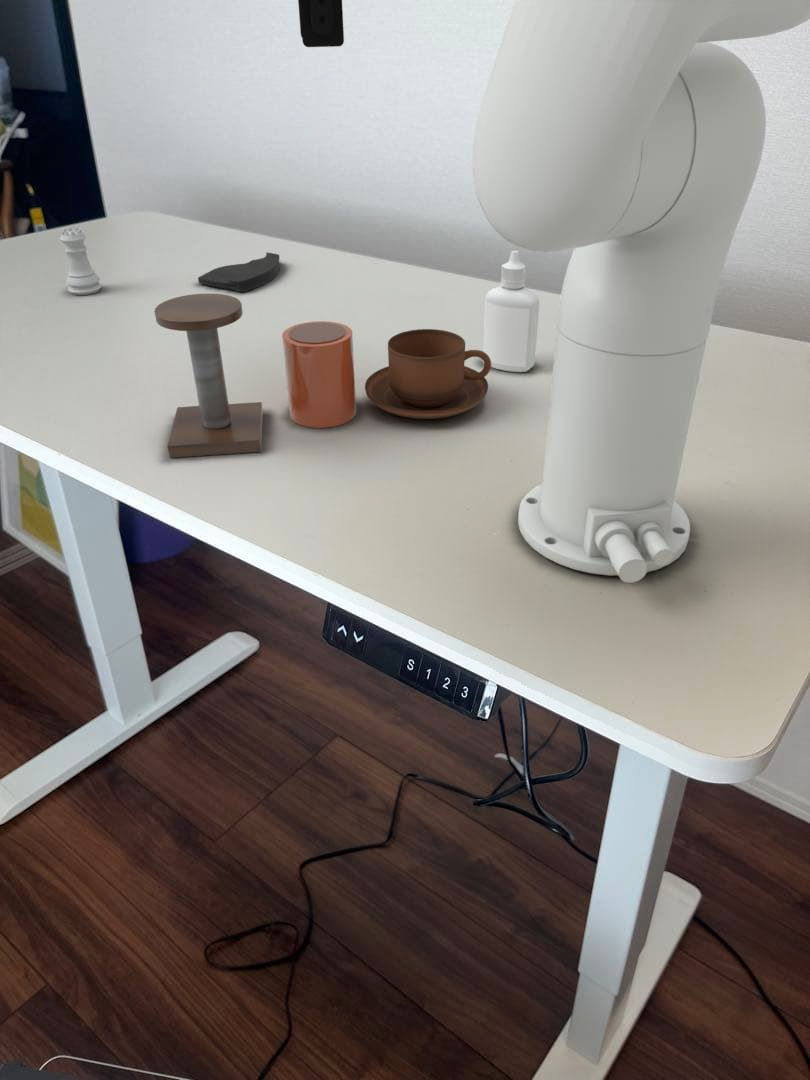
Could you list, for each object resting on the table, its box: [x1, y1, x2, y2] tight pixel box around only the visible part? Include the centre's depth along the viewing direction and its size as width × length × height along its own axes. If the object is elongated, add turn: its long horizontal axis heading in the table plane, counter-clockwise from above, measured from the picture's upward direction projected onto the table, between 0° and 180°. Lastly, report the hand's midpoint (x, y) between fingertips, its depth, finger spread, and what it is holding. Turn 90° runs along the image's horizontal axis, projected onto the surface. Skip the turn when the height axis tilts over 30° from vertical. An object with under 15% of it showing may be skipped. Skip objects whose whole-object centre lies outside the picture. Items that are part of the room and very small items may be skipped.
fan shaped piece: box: [197, 252, 281, 293], centre depth 115 cm, size 8×14×2 cm, turn 147°
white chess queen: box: [59, 227, 103, 296], centre depth 109 cm, size 4×4×8 cm
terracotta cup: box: [281, 320, 357, 429], centre depth 77 cm, size 6×6×8 cm
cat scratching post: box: [154, 293, 264, 459], centre depth 72 cm, size 8×8×12 cm
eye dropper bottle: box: [481, 250, 540, 373], centre depth 85 cm, size 4×6×12 cm
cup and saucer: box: [364, 328, 492, 420], centre depth 79 cm, size 12×12×6 cm
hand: (321, 42), depth 68 cm, fingers open, 9 cm apart
